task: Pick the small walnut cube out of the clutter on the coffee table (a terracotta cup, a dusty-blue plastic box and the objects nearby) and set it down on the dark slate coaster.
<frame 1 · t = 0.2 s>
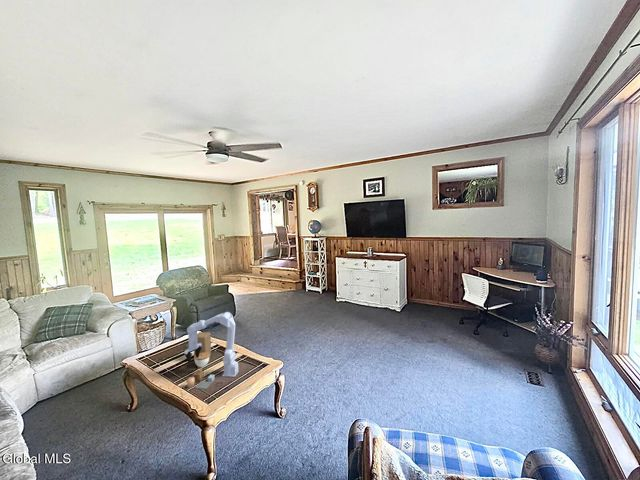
hand: (193, 359, 203), 10 cm above the table, fingers open, 7 cm apart
walnut block: (198, 380, 194), on the table
slate coaster: (203, 385, 188), on the table
lidded jar: (202, 365, 215), on the table
blue plastic box: (211, 380, 194), on the table
wooden block: (202, 358, 226), on the table
terracotta cup: (191, 386, 187), on the table
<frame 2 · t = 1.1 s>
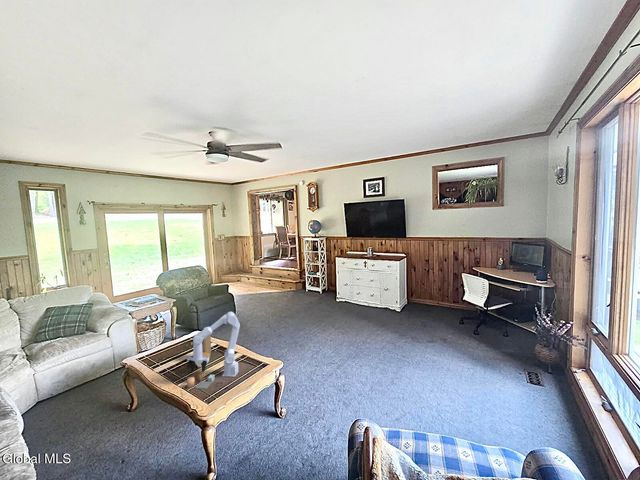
hand: (198, 371, 194), 6 cm above the table, fingers open, 7 cm apart
nothing on the table moved.
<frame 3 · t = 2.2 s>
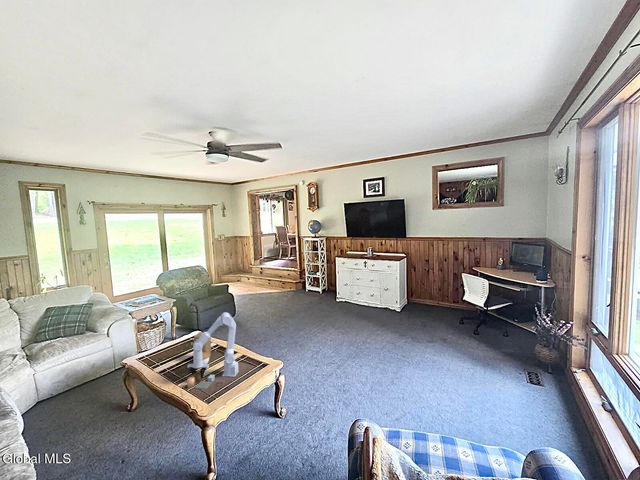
hand: (198, 377, 194), 1 cm above the table, fingers closed on walnut block, 5 cm apart
walnut block: (198, 379, 194), on the table, touching gripper
everything else where it was.
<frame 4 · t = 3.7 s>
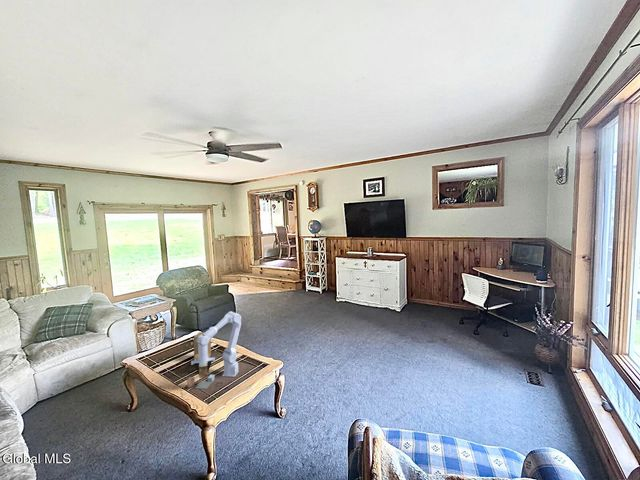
hand: (203, 373, 187), 8 cm above the table, fingers closed on walnut block, 5 cm apart
walnut block: (203, 375, 188), point 7 cm above the table, touching gripper
everything else where it was.
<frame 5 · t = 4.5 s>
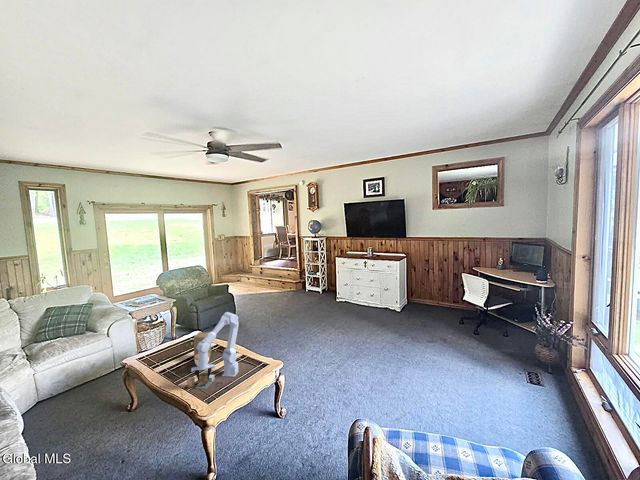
hand: (203, 380, 188), 4 cm above the table, fingers closed on walnut block, 5 cm apart
walnut block: (203, 382, 188), point 2 cm above the table, touching gripper
everything else where it was.
when the fingers open (3 cm above the table, at t = 5.2 s): walnut block stays where it is, resting on slate coaster.
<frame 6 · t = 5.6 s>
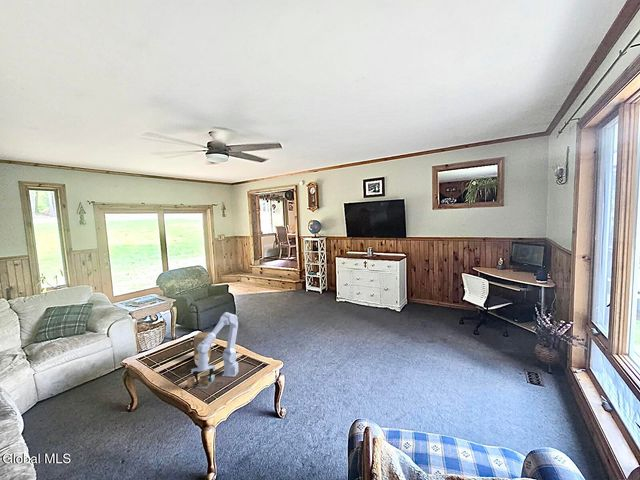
hand: (203, 381, 188), 3 cm above the table, fingers open, 7 cm apart
walnut block: (203, 384, 188), resting on slate coaster
everything else where it was.
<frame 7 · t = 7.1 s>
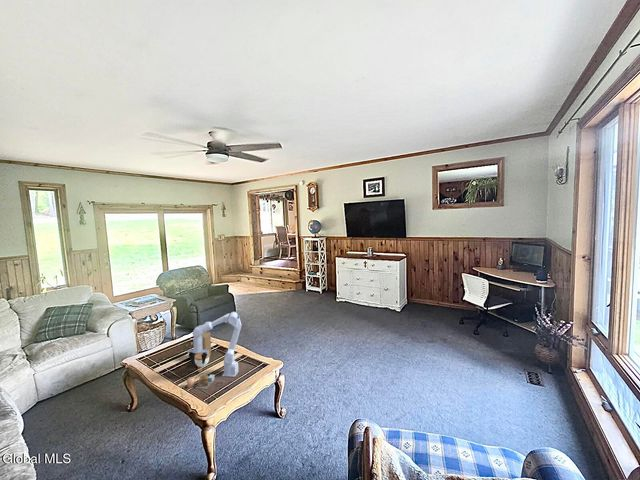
hand: (198, 363, 198), 10 cm above the table, fingers open, 7 cm apart
nothing on the table moved.
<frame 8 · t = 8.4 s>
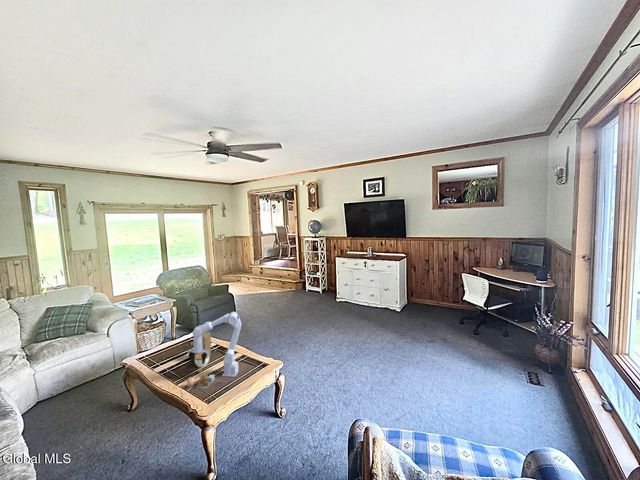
hand: (198, 363, 198), 10 cm above the table, fingers open, 7 cm apart
nothing on the table moved.
at the end: walnut block inside the target area on the slate coaster (0.0 cm from its centre), point 0.4 cm above the slate coaster's base; walnut block tilted 0°; the gripper is holding nothing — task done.
